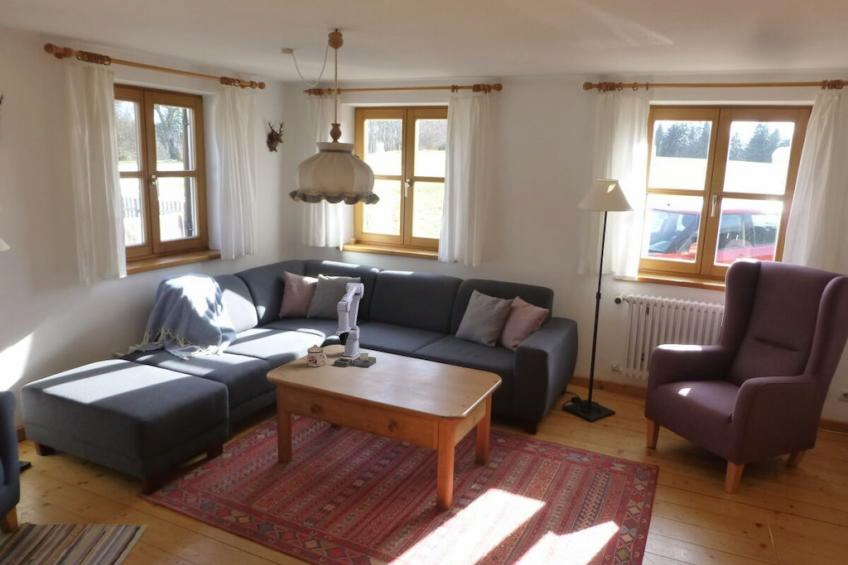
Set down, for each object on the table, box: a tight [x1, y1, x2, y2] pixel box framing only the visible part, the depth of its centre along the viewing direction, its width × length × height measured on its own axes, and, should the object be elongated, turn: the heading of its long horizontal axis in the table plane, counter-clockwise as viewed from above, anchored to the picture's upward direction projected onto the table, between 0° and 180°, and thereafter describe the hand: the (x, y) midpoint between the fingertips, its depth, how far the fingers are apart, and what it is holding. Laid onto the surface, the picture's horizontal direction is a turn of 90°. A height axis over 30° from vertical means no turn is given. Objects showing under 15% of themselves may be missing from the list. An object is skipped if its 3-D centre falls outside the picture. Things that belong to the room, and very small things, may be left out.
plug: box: [359, 351, 369, 361], centre depth 356 cm, size 3×4×7 cm, turn 92°
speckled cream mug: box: [307, 344, 327, 368], centre depth 351 cm, size 12×9×12 cm
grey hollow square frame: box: [333, 357, 354, 368], centre depth 354 cm, size 7×8×2 cm
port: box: [352, 355, 377, 369], centre depth 356 cm, size 10×10×3 cm
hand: (343, 345), depth 356 cm, fingers closed
